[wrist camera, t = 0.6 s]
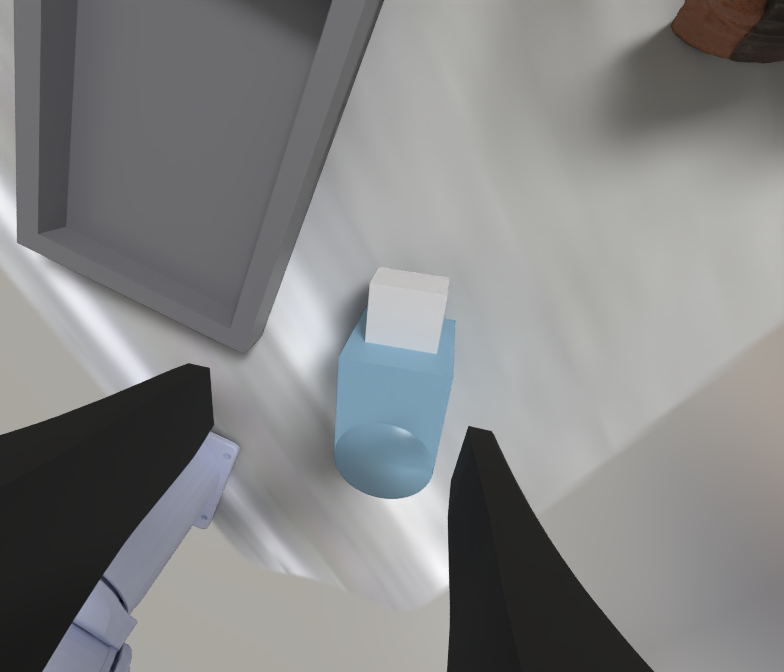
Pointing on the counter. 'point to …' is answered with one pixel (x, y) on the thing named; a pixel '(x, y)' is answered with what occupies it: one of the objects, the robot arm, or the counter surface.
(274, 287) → the tray
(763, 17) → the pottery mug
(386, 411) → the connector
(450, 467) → the counter surface
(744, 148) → the counter surface
